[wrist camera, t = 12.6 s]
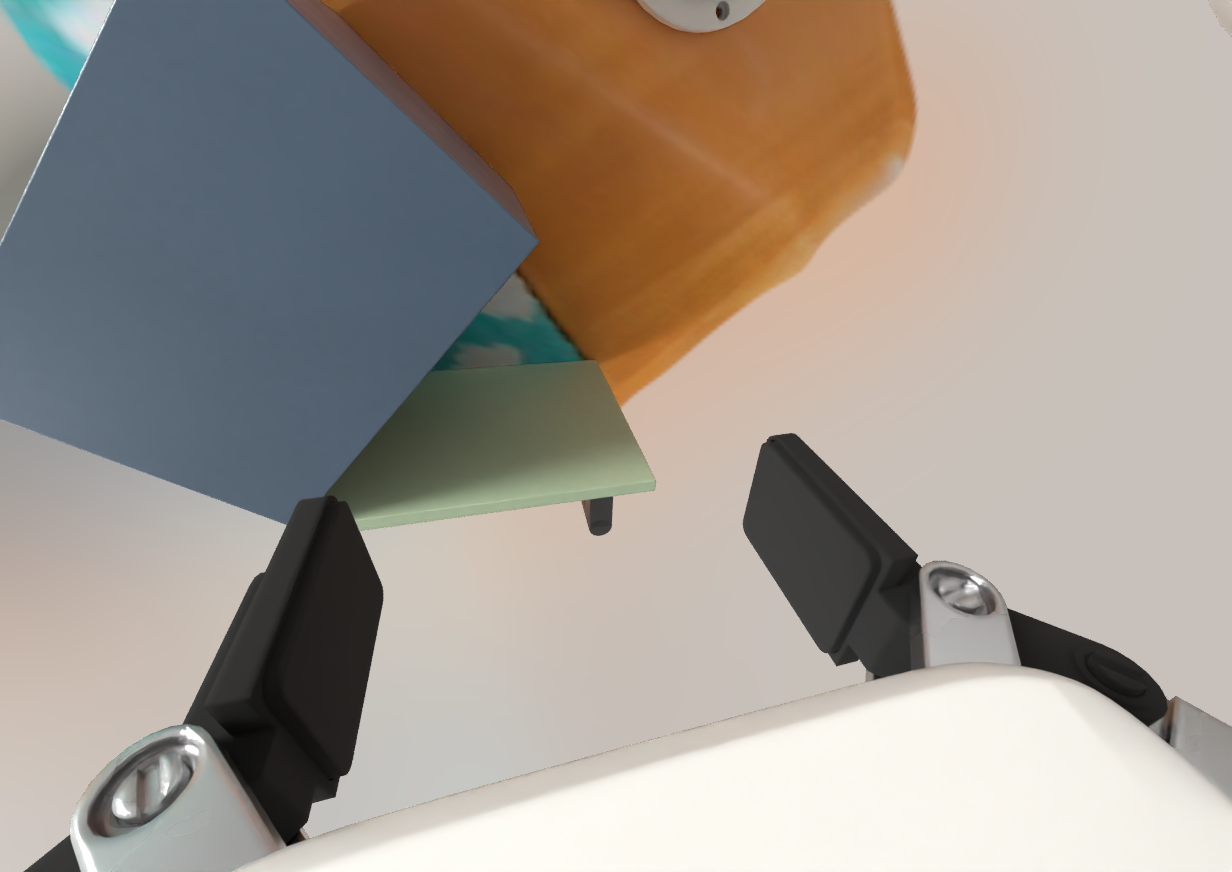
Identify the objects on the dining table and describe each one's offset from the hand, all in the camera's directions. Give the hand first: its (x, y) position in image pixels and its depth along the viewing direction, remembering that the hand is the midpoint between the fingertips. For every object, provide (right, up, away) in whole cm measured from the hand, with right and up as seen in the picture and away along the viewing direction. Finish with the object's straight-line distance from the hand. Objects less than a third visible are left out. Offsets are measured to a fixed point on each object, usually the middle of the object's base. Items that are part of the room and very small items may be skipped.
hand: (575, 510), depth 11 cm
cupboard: (-16, +16, +20) cm, 30 cm away
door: (-10, +4, +29) cm, 31 cm away
